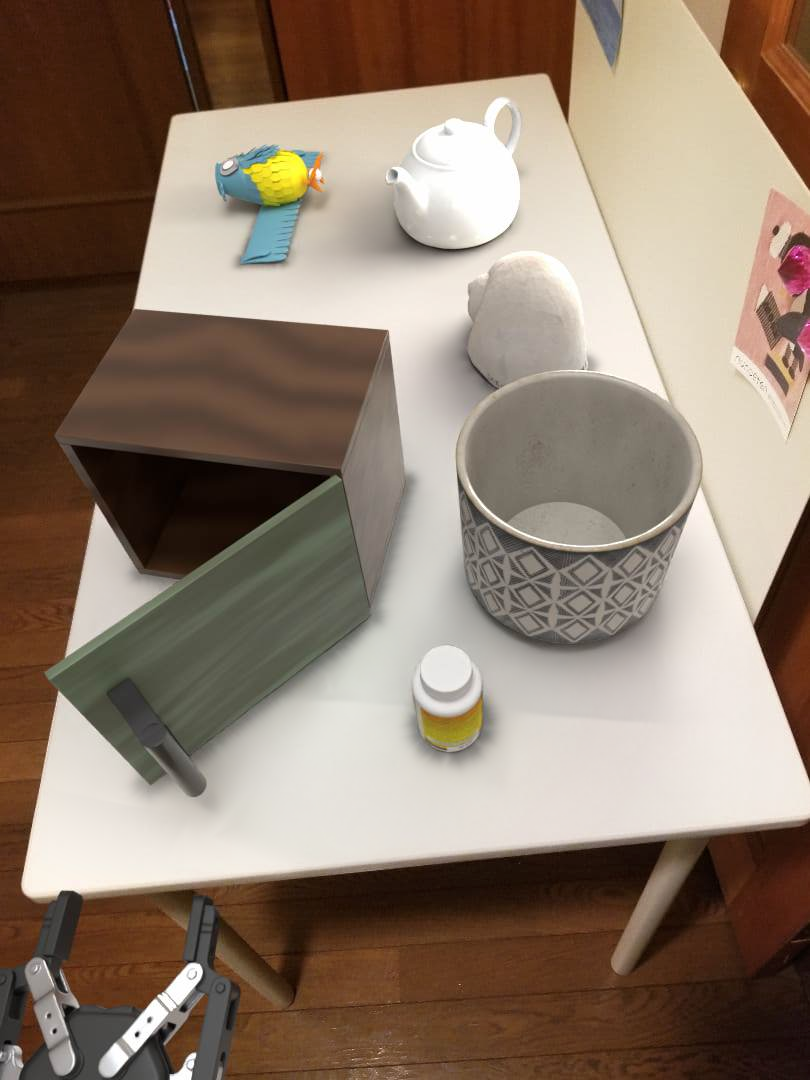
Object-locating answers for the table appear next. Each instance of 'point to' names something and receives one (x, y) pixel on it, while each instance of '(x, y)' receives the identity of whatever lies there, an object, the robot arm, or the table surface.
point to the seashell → (525, 319)
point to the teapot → (458, 182)
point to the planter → (573, 501)
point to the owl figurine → (270, 194)
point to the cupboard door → (220, 638)
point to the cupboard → (235, 433)
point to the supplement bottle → (448, 698)
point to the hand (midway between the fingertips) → (137, 894)
